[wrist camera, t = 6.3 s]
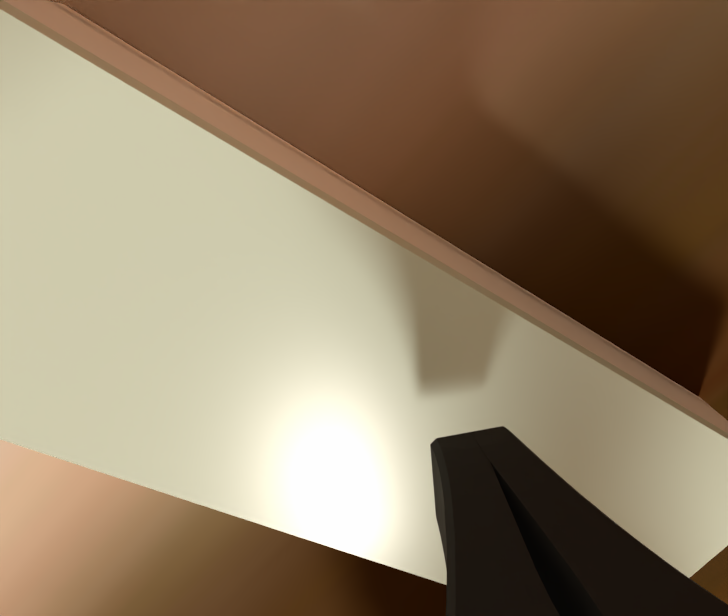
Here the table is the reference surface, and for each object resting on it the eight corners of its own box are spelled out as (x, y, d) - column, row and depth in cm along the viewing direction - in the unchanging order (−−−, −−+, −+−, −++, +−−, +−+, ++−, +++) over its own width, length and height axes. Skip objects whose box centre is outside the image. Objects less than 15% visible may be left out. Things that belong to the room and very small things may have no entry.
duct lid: (778, 463, 14) (801, 482, 13) (603, 617, 16) (615, 640, 15) (-22, -15, 7) (-52, -22, 7) (-139, 361, 9) (-170, 383, 9)
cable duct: (699, 397, 17) (777, 463, 14) (557, 536, 19) (602, 616, 16) (63, 3, 10) (-21, -15, 7) (-43, 292, 12) (-138, 360, 9)
